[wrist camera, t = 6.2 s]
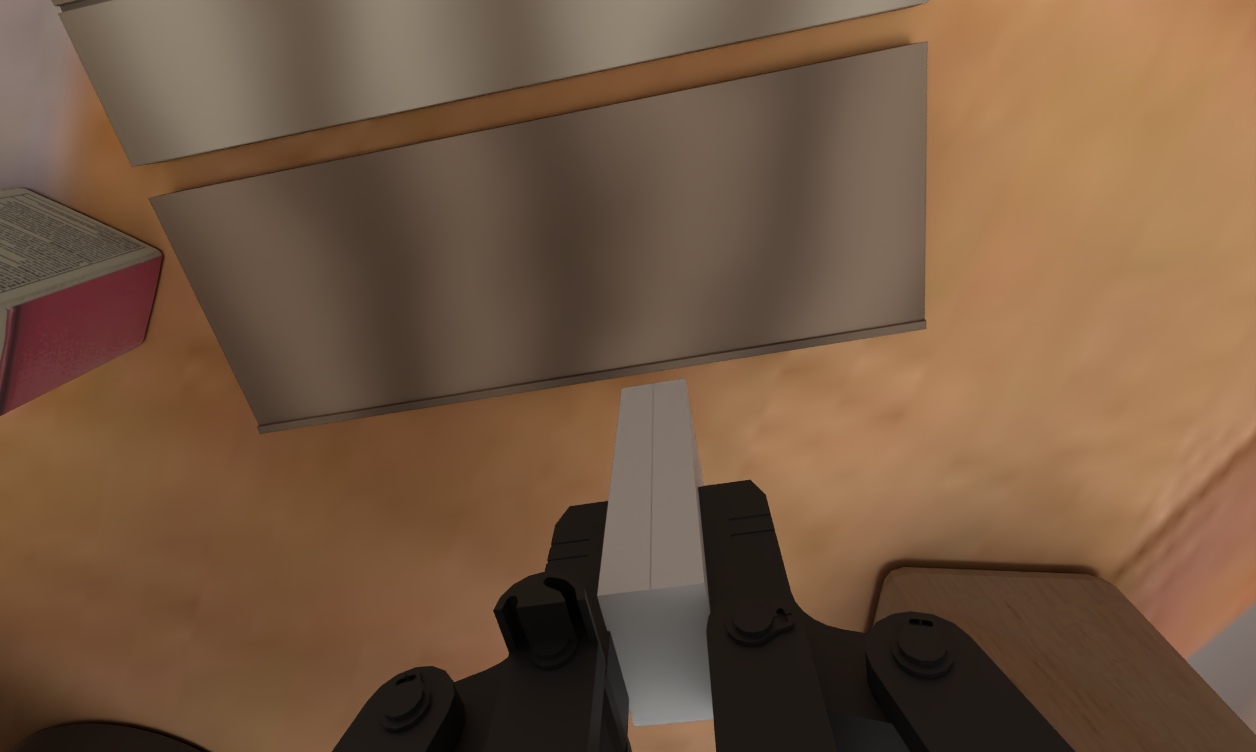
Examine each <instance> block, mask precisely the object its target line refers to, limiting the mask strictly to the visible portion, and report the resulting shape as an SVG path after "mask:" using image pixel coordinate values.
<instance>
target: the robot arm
mask: <svg viewBox="0 0 1256 752" xmlns="http://www.w3.org/2000/svg"><path fill="white" fill-rule="evenodd" d="M547 560H548V564H546V568H545V572H542V573H538V574H534V575H531V576H528V577H526V578H524V579H523V580H521V581H519V582H517V583H515V584H514V585H512V586H511V587H510V588H509V589H508V590H507V591H506V592H505V593H504V594H503V595H502V596H501V597H500V599H499V601H498V603H497V604H496V606H495V608H494V610H493V611H494V614H495V617H496V619H497V622H498V624H499V627H500V630H501V632H502V635H503V638H504V640H505V643H506V646H507V648H508V651H509V656H508V658H506V659H505V660H504V661H502V662H501V663H499V664H497V665H495V666H493V667H491V668H489V669H487V670H485V671H482V672H480V673H477V674H474V675H472V676H469V677H467V678H464V679H462V680H459V681H457V682H453V680H452V679H451V678H450V676H449V675H448V674H447V672H446V671H445V670H442V669H439V668H436V667H433V666H427V667H416V668H413V669H410V670H408V671H405V672H403V673H400V674H398V675H396V676H395V677H393V678H392V679H391V680H389V681H388V682H386V683H385V684H383V685H382V686H381V687H380V688H379V689H378V690H377V691H376V692H375V693H374V694H373V696H372V697H371V698H370V699H369V700H368V701H367V702H366V704H365V705H364V707H363V708H362V710H361V711H360V712H359V714H358V715H357V717H356V718H355V720H354V721H353V722H352V724H351V725H350V727H349V728H348V729H347V731H346V732H345V734H344V735H343V737H342V738H341V739H340V741H339V742H338V744H337V745H336V746H335V748H334V749H333V751H332V752H632V750H631V746H630V742H629V739H628V736H627V734H628V712H629V710H630V714H631V717H632V721H633V724H634V727H637V726H648V725H659V724H670V723H681V722H692V721H702V720H713V719H714V730H715V742H716V752H1075V750H1074V749H1073V748H1072V747H1071V746H1070V745H1069V744H1068V743H1067V742H1066V741H1065V739H1064V738H1063V737H1062V736H1061V735H1060V734H1059V733H1058V732H1057V731H1056V730H1055V729H1054V727H1053V726H1052V725H1051V724H1050V723H1049V722H1048V721H1047V720H1046V719H1045V718H1044V716H1043V715H1042V714H1041V713H1040V712H1039V711H1038V710H1037V709H1036V708H1035V707H1034V705H1033V704H1032V703H1031V702H1030V701H1029V700H1028V699H1027V698H1026V697H1025V696H1024V695H1023V693H1022V692H1021V691H1020V690H1019V689H1018V688H1017V687H1016V686H1015V685H1014V684H1013V682H1012V681H1011V680H1010V679H1009V678H1008V677H1007V676H1006V675H1005V674H1004V673H1003V671H1002V670H1001V669H1000V668H999V667H998V666H997V665H996V664H995V663H994V662H993V661H992V659H991V658H990V657H989V656H988V655H987V654H986V653H985V652H984V651H983V650H982V648H981V647H980V646H979V645H978V644H977V643H976V642H975V641H974V640H973V639H972V637H971V636H969V635H968V634H967V633H966V632H964V631H963V630H962V629H961V628H959V627H958V626H957V625H956V624H954V623H952V622H950V621H948V620H945V619H943V618H941V617H938V616H936V615H934V614H928V613H921V612H914V611H909V612H902V613H895V614H891V615H889V616H887V617H885V618H883V619H881V620H879V621H877V622H876V623H875V624H874V626H873V627H872V629H871V630H870V631H869V633H861V632H855V631H849V630H843V629H839V628H835V627H831V626H827V625H825V624H823V623H821V622H819V621H816V620H814V619H813V618H812V617H810V616H809V615H808V614H806V613H805V612H803V610H802V609H801V608H800V607H799V606H798V604H797V603H796V602H795V600H794V598H793V595H792V593H791V590H790V586H789V583H788V579H787V575H786V571H785V567H784V563H783V560H782V556H781V552H780V548H779V544H778V540H777V537H776V533H775V529H774V525H773V521H772V517H771V514H770V510H769V506H768V502H767V498H766V494H764V493H763V492H762V491H761V490H760V489H759V488H758V487H757V486H756V485H755V484H754V483H753V482H752V481H751V480H745V481H738V482H730V483H723V484H716V485H708V486H704V485H703V476H702V470H701V465H700V459H699V453H698V448H697V442H696V436H695V430H694V425H693V419H692V413H691V407H690V402H689V396H688V390H687V385H686V379H685V378H684V379H678V380H672V381H665V382H659V383H653V384H646V385H640V386H634V387H627V388H622V391H621V399H620V407H619V416H618V424H617V433H616V441H615V450H614V458H613V467H612V475H611V483H610V492H609V500H608V501H605V502H597V503H590V504H583V505H575V506H570V507H569V508H568V509H567V510H566V512H565V513H564V514H563V516H562V517H561V518H560V519H559V521H558V522H557V523H556V525H555V529H554V534H553V538H552V542H551V548H550V551H549V555H548V559H547ZM11 752H201V751H199V750H197V749H195V748H193V747H191V746H189V745H187V744H184V743H182V742H179V741H177V740H174V739H171V738H168V737H166V736H162V735H159V734H156V733H152V732H149V731H145V730H140V729H136V728H131V727H125V726H118V725H109V724H72V725H64V726H59V727H54V728H50V729H47V730H43V731H41V732H38V733H36V734H33V735H31V736H29V737H28V738H26V739H24V740H23V741H22V742H20V743H19V744H18V745H17V746H16V747H15V748H14V749H13V750H12V751H11Z"/></svg>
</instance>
